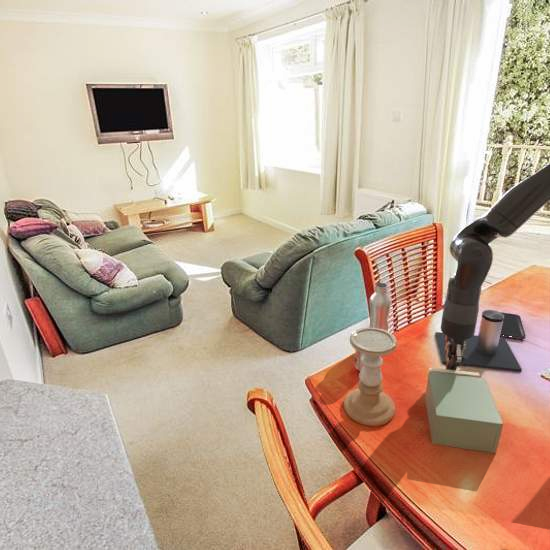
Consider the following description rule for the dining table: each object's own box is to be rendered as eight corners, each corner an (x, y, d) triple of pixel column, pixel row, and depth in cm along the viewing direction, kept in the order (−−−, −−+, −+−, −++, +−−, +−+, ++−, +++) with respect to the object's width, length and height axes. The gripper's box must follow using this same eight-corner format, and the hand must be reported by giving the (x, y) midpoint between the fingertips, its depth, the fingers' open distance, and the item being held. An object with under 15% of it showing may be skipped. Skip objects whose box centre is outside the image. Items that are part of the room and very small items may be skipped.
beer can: (356, 361, 110) (357, 326, 105) (372, 364, 108) (375, 328, 104) (353, 371, 106) (354, 335, 101) (370, 374, 104) (372, 337, 100)
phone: (519, 314, 127) (526, 337, 115) (519, 317, 128) (525, 340, 115) (493, 311, 130) (496, 332, 118) (492, 314, 131) (496, 335, 118)
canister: (493, 345, 112) (501, 310, 108) (498, 356, 108) (506, 320, 103) (473, 343, 114) (480, 309, 109) (477, 354, 109) (484, 318, 104)
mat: (504, 339, 116) (504, 337, 116) (521, 371, 102) (522, 369, 102) (435, 334, 121) (435, 331, 121) (442, 363, 107) (442, 361, 107)
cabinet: (425, 398, 95) (428, 372, 92) (479, 405, 92) (485, 378, 88) (432, 443, 82) (436, 415, 79) (496, 453, 79) (503, 424, 76)
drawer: (426, 384, 98) (428, 364, 96) (473, 389, 95) (477, 369, 93) (433, 426, 85) (436, 404, 83) (488, 434, 82) (493, 412, 80)
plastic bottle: (378, 350, 114) (383, 291, 107) (362, 340, 120) (365, 284, 112) (393, 343, 118) (398, 285, 110) (376, 334, 123) (380, 278, 115)
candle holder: (405, 412, 91) (413, 342, 83) (368, 435, 85) (373, 361, 77) (369, 384, 100) (373, 319, 92) (333, 403, 95) (334, 335, 87)
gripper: (483, 331, 83) (471, 393, 90) (471, 303, 95) (461, 360, 102) (447, 328, 85) (437, 388, 92) (439, 301, 97) (431, 357, 103)
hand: (450, 373), depth 97 cm, fingers closed
